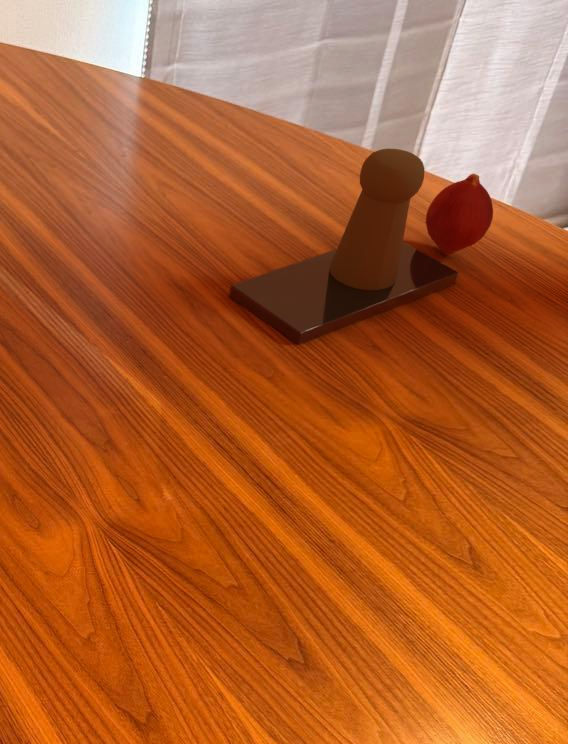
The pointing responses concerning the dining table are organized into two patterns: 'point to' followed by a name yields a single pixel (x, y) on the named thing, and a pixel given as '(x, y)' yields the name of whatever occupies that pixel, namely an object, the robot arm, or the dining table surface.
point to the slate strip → (334, 293)
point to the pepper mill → (378, 221)
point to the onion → (459, 215)
